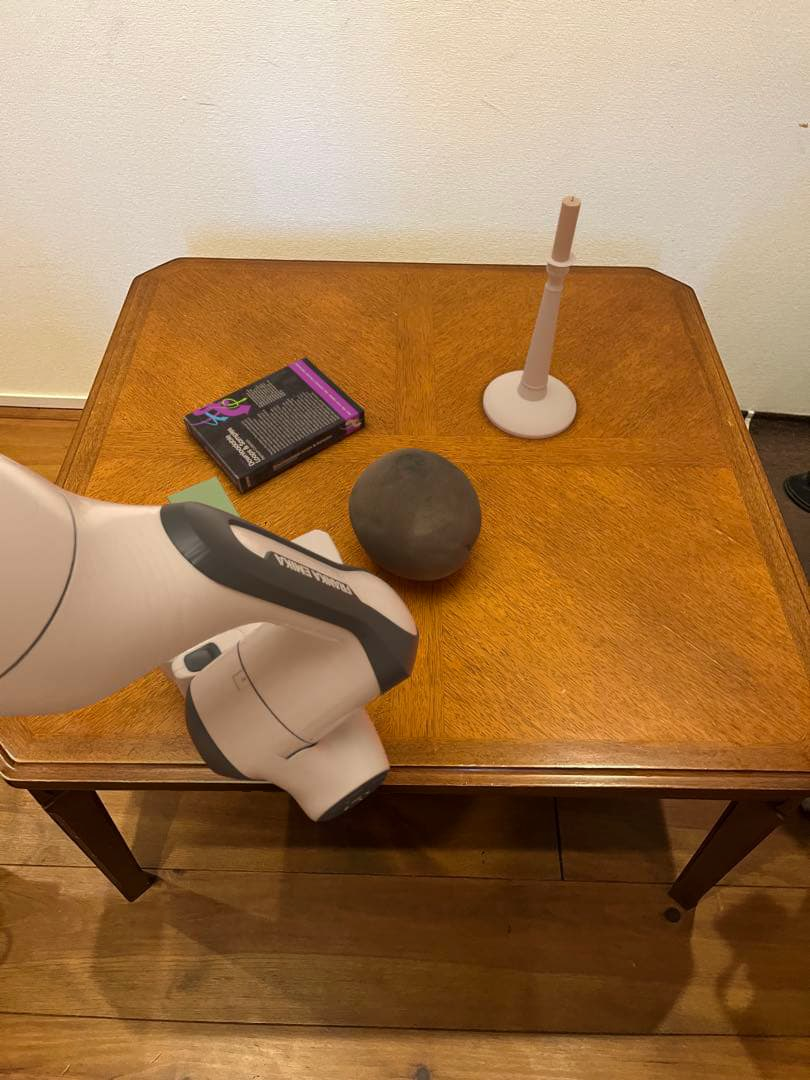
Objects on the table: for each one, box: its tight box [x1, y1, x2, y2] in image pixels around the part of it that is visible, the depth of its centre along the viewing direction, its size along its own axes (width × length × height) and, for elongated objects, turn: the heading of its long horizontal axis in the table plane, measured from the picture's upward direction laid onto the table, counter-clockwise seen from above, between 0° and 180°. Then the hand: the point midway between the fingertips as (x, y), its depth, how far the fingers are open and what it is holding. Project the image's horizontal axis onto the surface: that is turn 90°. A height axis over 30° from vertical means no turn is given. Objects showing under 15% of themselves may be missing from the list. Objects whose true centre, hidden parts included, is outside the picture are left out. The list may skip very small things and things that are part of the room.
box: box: [182, 356, 366, 494], centre depth 97 cm, size 14×4×20 cm
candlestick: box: [482, 195, 582, 440], centre depth 90 cm, size 13×13×30 cm
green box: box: [166, 476, 242, 518], centre depth 74 cm, size 5×7×14 cm
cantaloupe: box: [348, 447, 483, 581], centre depth 81 cm, size 14×14×15 cm
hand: (214, 542), depth 74 cm, fingers closed on green box, 5 cm apart
